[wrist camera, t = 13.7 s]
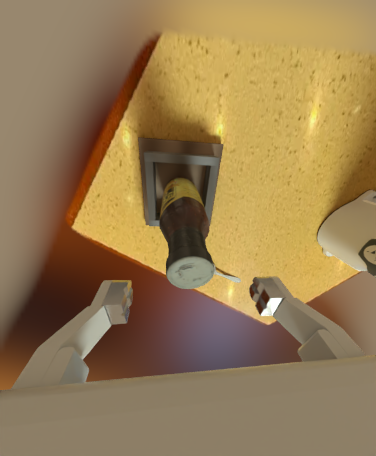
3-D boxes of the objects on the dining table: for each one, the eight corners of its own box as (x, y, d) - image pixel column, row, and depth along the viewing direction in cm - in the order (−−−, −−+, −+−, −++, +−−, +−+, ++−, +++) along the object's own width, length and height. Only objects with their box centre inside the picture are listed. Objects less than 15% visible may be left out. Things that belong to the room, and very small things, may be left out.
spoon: (199, 254, 40) (200, 258, 38) (251, 279, 47) (253, 284, 45) (190, 264, 41) (191, 269, 40) (242, 287, 48) (244, 291, 47)
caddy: (221, 144, 26) (230, 145, 22) (208, 223, 34) (213, 234, 30) (139, 137, 25) (133, 137, 21) (146, 222, 33) (143, 234, 29)
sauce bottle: (166, 172, 27) (155, 231, 10) (199, 179, 28) (243, 242, 11) (161, 205, 30) (147, 294, 13) (192, 210, 31) (215, 298, 14)
